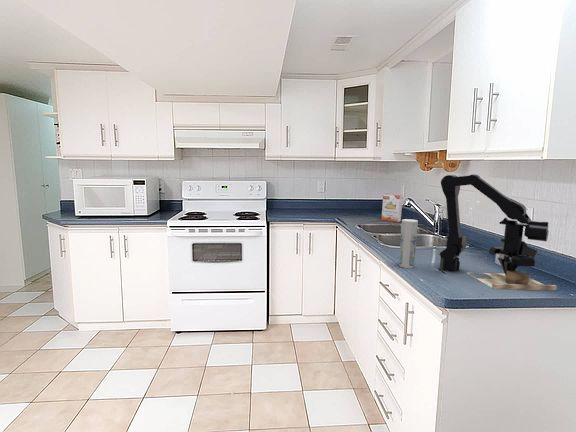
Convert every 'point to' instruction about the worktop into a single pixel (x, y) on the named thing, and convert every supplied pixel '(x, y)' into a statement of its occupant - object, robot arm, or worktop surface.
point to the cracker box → (392, 207)
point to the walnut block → (517, 277)
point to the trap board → (500, 283)
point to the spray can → (408, 243)
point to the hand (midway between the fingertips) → (508, 278)
